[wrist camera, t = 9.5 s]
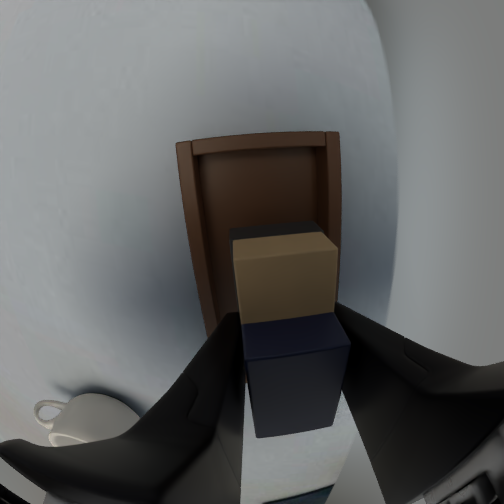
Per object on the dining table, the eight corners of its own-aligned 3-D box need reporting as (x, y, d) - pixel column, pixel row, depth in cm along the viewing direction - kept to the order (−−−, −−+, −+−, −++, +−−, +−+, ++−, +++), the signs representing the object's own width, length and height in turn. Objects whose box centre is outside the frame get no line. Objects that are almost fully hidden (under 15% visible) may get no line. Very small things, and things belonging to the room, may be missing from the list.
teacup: (164, 403, 17) (153, 464, 12) (149, 441, 19) (141, 488, 14) (45, 352, 15) (14, 401, 10) (53, 402, 17) (35, 443, 12)
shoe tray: (323, 133, 11) (339, 131, 9) (320, 348, 16) (329, 370, 14) (183, 143, 11) (174, 142, 9) (219, 361, 15) (219, 385, 14)
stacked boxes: (309, 354, 11) (335, 427, 7) (246, 362, 11) (253, 440, 7) (313, 219, 9) (367, 272, 5) (229, 227, 9) (228, 289, 5)
